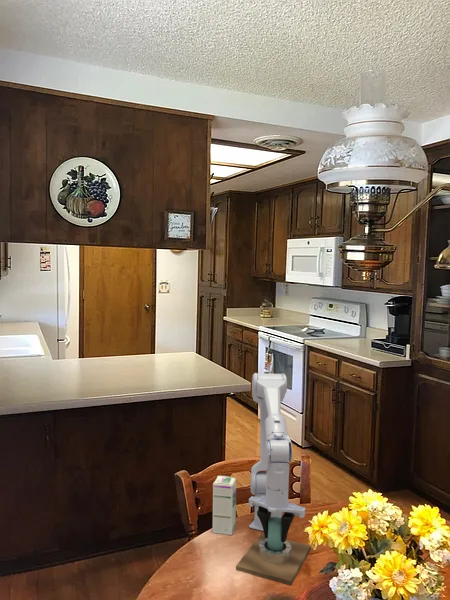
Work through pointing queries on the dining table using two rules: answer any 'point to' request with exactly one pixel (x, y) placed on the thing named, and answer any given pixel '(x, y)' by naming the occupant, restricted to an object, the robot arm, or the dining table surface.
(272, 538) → the peg
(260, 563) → the walnut board
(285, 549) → the socket ring
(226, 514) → the syrup box
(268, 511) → the robot arm
